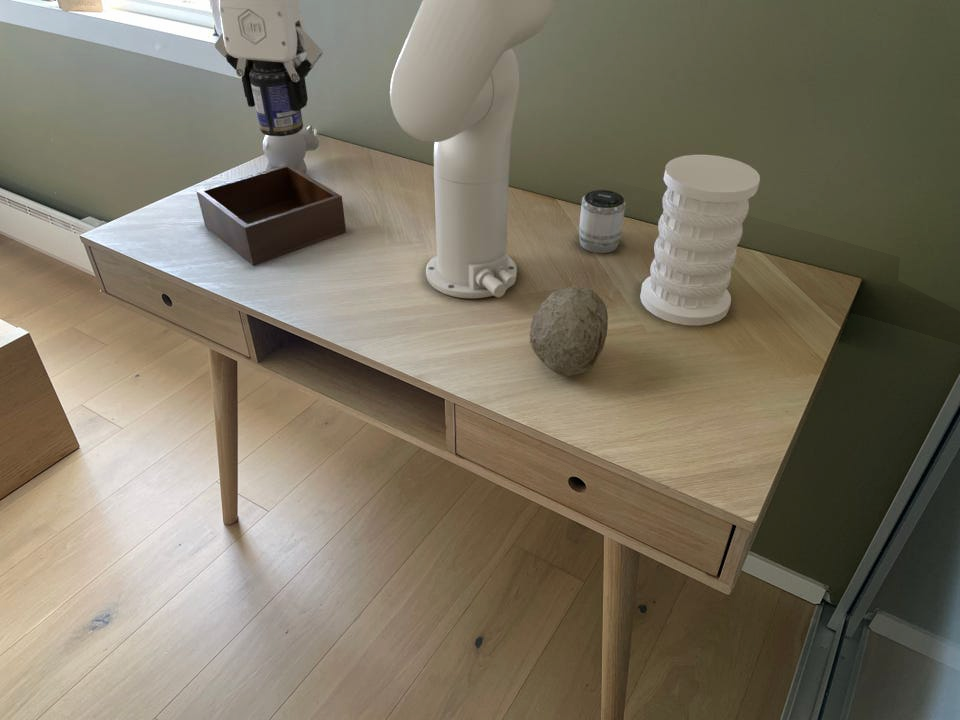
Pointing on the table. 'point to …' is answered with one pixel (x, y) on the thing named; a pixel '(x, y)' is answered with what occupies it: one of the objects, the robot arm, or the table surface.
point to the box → (272, 213)
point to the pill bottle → (274, 99)
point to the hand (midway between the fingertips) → (277, 104)
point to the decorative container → (698, 238)
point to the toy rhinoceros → (290, 149)
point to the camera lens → (601, 221)
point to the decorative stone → (570, 330)
